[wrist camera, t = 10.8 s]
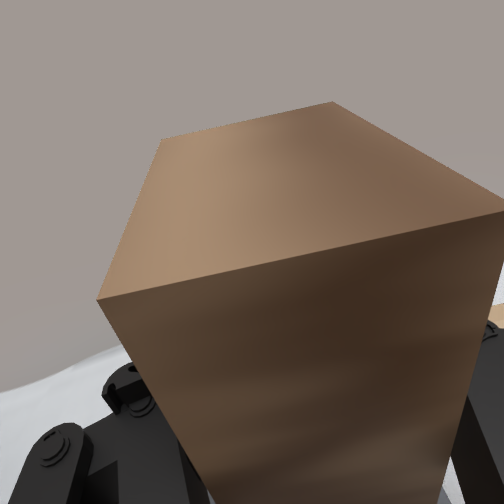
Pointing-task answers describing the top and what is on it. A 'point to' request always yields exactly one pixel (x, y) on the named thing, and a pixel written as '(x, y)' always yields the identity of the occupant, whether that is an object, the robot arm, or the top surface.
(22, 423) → the top surface
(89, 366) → the top surface
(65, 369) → the top surface
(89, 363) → the top surface
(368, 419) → the walnut box
